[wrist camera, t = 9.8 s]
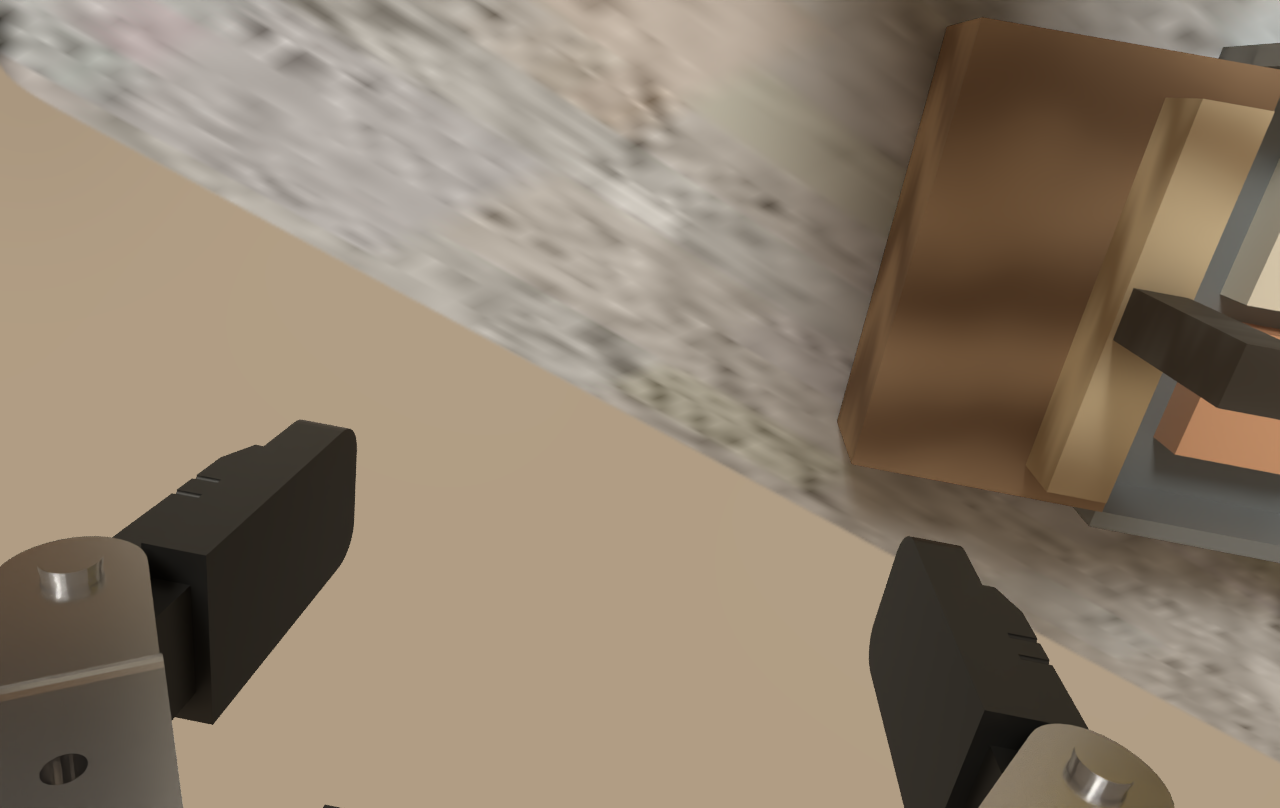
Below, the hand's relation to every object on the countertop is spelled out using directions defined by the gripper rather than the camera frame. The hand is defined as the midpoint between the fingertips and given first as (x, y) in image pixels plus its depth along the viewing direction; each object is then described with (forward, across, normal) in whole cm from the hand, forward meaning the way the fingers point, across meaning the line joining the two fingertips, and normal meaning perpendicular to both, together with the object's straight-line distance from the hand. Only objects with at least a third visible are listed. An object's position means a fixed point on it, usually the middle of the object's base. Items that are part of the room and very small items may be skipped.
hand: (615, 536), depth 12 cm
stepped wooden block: (+28, -14, -1) cm, 32 cm away
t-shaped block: (+23, -17, -1) cm, 29 cm away
